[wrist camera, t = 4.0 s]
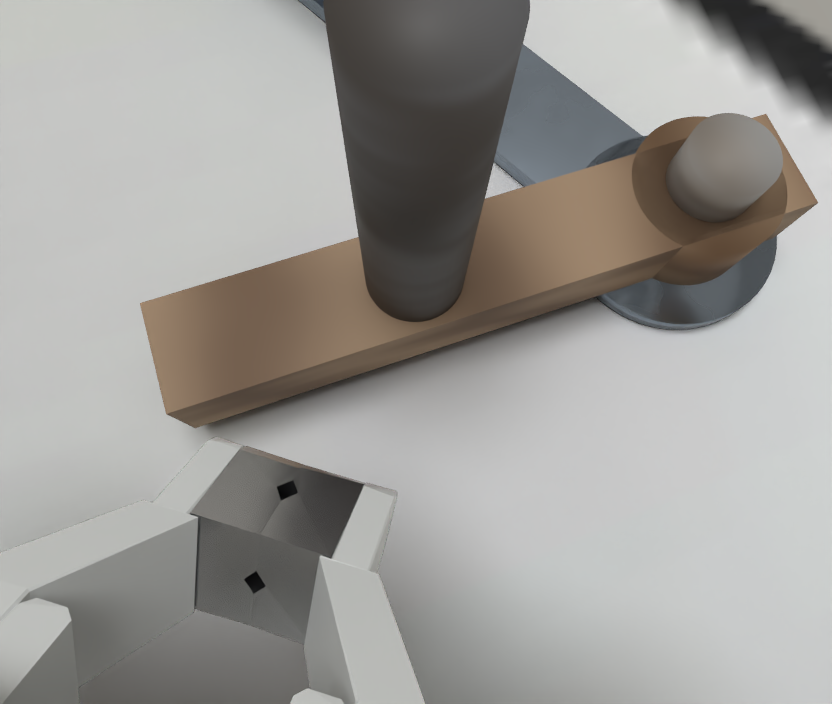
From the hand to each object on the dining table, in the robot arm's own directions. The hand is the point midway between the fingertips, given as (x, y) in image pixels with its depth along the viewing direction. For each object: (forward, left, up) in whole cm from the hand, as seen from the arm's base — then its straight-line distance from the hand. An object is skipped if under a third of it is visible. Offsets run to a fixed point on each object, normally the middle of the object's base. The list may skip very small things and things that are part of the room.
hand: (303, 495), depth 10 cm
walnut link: (+9, -2, -10) cm, 13 cm away
